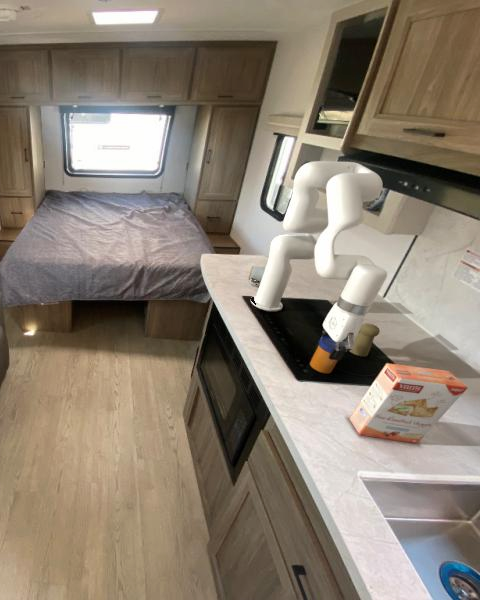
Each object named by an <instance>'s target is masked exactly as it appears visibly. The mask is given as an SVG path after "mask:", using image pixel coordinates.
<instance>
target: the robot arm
mask: <svg viewBox="0 0 480 600" xmlns="http://www.w3.org/2000/svg"><path fill="white" fill-rule="evenodd" d="M292 188H293V189H292V195H291V198H290V200H289V203H288V206H287V208H286V213H285V215H284V218H283V221H282V228H283V230H284V231H285V232H287V233H293V234H280V235H278V236H274V238H273V239H272V240H271V242H270V246H269V253H268V259H267V262H266V266H265V267H264V268H265V271H264V274H263V277H262V280H261V283H260V282H259V284H260V286H258V288H257V292H256V294H254V295H253V296H252V297H254V301H255V303H256V305H255V304H254V303H253V302H252V301H251V300H250V303H251V304H252V306H254V307H256V308H258V309H259V310H263V311H265V312H279V311H281V310H282V309H283V303H282V302H281V300H282V298H283V296H284V293H285V291H286V288H287V285H288V283H289V280H290V277H291V275H292V272H293V267H292V264H291V260H303V261H304V260H307V261H308V260H314V267H315V272H316V273H317V276H319V277H320V278H323V279H326V280H344V281H347V282H346V283H345V286H344V288H343V290H342V291H341V294H340V295H339V298H338V300H337V301H336V302H335V304H333V306H332V307H331V309H330V310H329V312H328V313H327V315H326V317H325V318H324V320H323V323H322V327H323V330H322V334H321V336H320V338H319V340H318V342H317V343H319V341H320V339H321V337H324V336H328V337H331V338H332V339H333V340H334V341H335V342H336V347H335V348H333V350H332V352H331V354H330V356H329V359H331V360H338V361H341V360H342V358H343V356H344V355H345V353H347V352H350V350H352V349H354V340H355V338H356V337H357V335H358V333H359V332H360V328H361V326H362V325H363V324H364V321H365V318H366V317H365V316H366V315H367V314H368V312H369V310H370V308H371V306H372V305H373V303H374V301H375V299H376V298H377V295H378V294H379V292H380V290H381V289H382V287H383V285H384V283H385V281H386V280H387V278H388V273H387V272H388V271H386V270H385V268H382V267H380V266H377V265H376V264H375V263H374V262H373V261H372V260H371V259H370V258H369V257H367V256H364V255H360V254H335V241H336V238H337V237H338V235H339V234H340V233H341V232H344V231H346V230H350V229H353V228H356V227H357V226H359V225H361V224H362V223H363V222H364V220H365V217H364V208H363V202H372V201H374V200H376V199H377V198H378V197H379V196H380V195H381V193H382V190H383V180H382V178H381V177H380V175H379V174H378V173H376V172H375V171H373V170H372V169H370V168H368V167H366V166H364V165H362V164H360V163H358V162H355V161H336V160H335V161H333V160H314V161H309V162H306V163H304V164H303V165H301V166H300V167H299V169H298V170H297V171H296V173H295V176H294V179H293V187H292ZM319 188H321V189H322V188H323V189H325V190H326V191H325V192H326V208H323V207H316V206H317V204H318V202H319V199H320V194H319V190H318V189H319ZM300 234H301V235H300ZM302 234H303V235H302ZM304 234H306V235H304ZM340 343H344V346H341V347H340Z"/></svg>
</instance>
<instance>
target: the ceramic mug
mask: <svg viewBox="0 0 480 600" xmlns="http://www.w3.org/2000/svg"><path fill="white" fill-rule="evenodd" d="M265 268H266V267H264V266H263V267H262V266H257V265H255V266H254V265H253V266H251V267H250V270H249V274H248V278H249V279H248V280H249V283H250V285H251V286H254V287H259V286H260V283H261V280H262V277H263V274H264V271H265ZM251 279H252V280H251ZM253 280H256V281H255V282H256V283H255V282H254V281H253ZM258 281H259V282H258ZM251 282H252V283H254V284H252V283H251ZM255 284H257V285H255Z"/></svg>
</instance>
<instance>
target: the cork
mask: <svg viewBox="0 0 480 600" xmlns="http://www.w3.org/2000/svg"><path fill="white" fill-rule="evenodd" d="M380 331H381V330H380V328H379V327H378V326H377V325H375V324H373V323H367V322H366V323H363V324H362V326H361V328H360V331H359V333H358V335H357V337H356V338H355V340H354V349H352V350H350V351H349V352H350V353H351V354H353V355H355V356H358V357H368V355H369V354H370V351H371V348H372V346H373V342H374V339H375V338H376V337H378V335H379V334H380Z"/></svg>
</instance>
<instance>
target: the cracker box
mask: <svg viewBox="0 0 480 600" xmlns="http://www.w3.org/2000/svg"><path fill="white" fill-rule="evenodd" d="M467 389H468V386H467V385H466V384H465V383H464V382H462V381H461V380H460V379H458V377H456V376H455V374H453V373H452V372H451V371H449V370H444V369H437V368H436V369H435V368H427V367H419V366H418V367H417V366H411V365H404V364H397V363H389V362H386V363H385V365H384V366H383V367H382V369H381V370H380V372H379V373H378V375H377V376H376V377H375V379H374V381H373V382H372V383H371V385H370V387H369V388H368V390H367V391H366V393H365V394H364V395H363V397H362V399H361V400H360V402H359V403H358V404H357V406H356V408H355V409H354V410H353V412H352V413H351V415H350V416H349V418H348V419H349V421H350V422H351V424H352V426H353V427H354V429H355V430H356V432H357V433H358V435H359V436H365V437H373V438H378V439H384V440H390V441H398V442H403V443H408V444H409V443H410V444H415V445H416V444H419V442H420V441H421V440H422V439H423V438H424V437H425V436H426V435H427V434H428V433H429V431H431V429H432V428H433V427H434V426H435V425H436V424H437V423H438V421H440V419H441V418H442V417H443V416H444V415H445V414H446V413H447V412H448V410H450V408H451V407H452V406H453V405H454V404H455V403H456V402H457V401H458V400H459V398H460V397H461V396H462V395H463V394H464V393H465V391H467Z"/></svg>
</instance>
